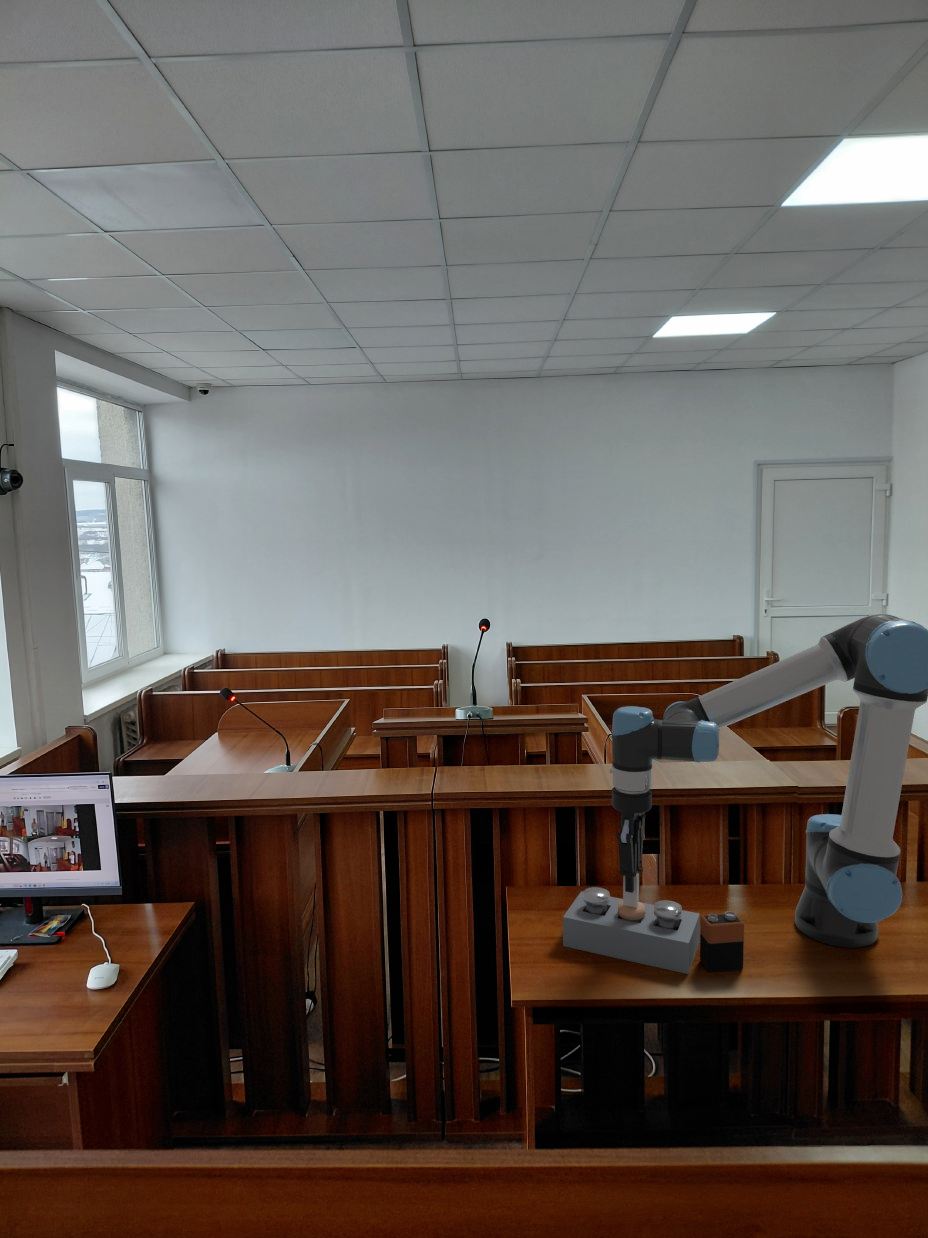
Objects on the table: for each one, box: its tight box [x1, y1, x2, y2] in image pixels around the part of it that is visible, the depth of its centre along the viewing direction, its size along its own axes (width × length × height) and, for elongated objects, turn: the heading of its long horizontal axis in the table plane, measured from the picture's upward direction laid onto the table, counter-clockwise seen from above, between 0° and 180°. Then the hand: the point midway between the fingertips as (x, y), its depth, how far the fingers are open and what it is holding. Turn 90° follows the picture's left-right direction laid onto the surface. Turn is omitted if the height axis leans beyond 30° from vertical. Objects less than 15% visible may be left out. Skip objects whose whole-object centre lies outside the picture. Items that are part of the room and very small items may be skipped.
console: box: [562, 890, 701, 975], centre depth 152 cm, size 24×12×6 cm, turn 64°
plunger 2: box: [653, 899, 683, 931], centre depth 149 cm, size 5×5×6 cm
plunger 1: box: [583, 886, 611, 916], centre depth 155 cm, size 5×5×6 cm
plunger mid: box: [618, 901, 645, 923], centre depth 152 cm, size 5×5×6 cm
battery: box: [699, 910, 745, 973], centre depth 144 cm, size 4×7×10 cm, turn 96°
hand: (630, 905), depth 151 cm, fingers closed
